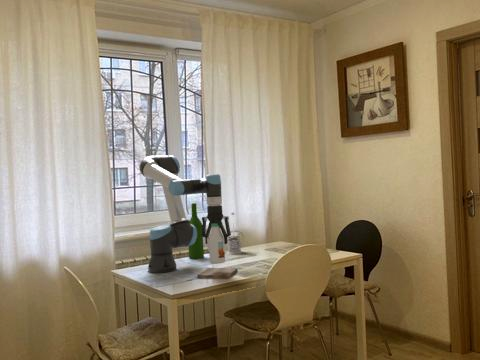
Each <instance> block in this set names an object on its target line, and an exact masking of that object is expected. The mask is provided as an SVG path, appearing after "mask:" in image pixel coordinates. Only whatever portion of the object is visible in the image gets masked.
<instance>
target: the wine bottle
mask: <svg viewBox="0 0 480 360" xmlns="http://www.w3.org/2000/svg"><path fill="white" fill-rule="evenodd" d="M190 207H191V217H190V219H189V221H190V224H192V225H194V226H195V227H196V230H197V238H196V241H195V243H194V244H193V245H190V246H187V247H188V258H189V259H191V260H198V259H203V258H204V257H205V253H204V252H205V251H204V237H202V236H201V235H202V223H203V222H202V220H201V219H200V218H199V217H198V211H197V210H198V209H197V203H191V206H190Z"/></svg>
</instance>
